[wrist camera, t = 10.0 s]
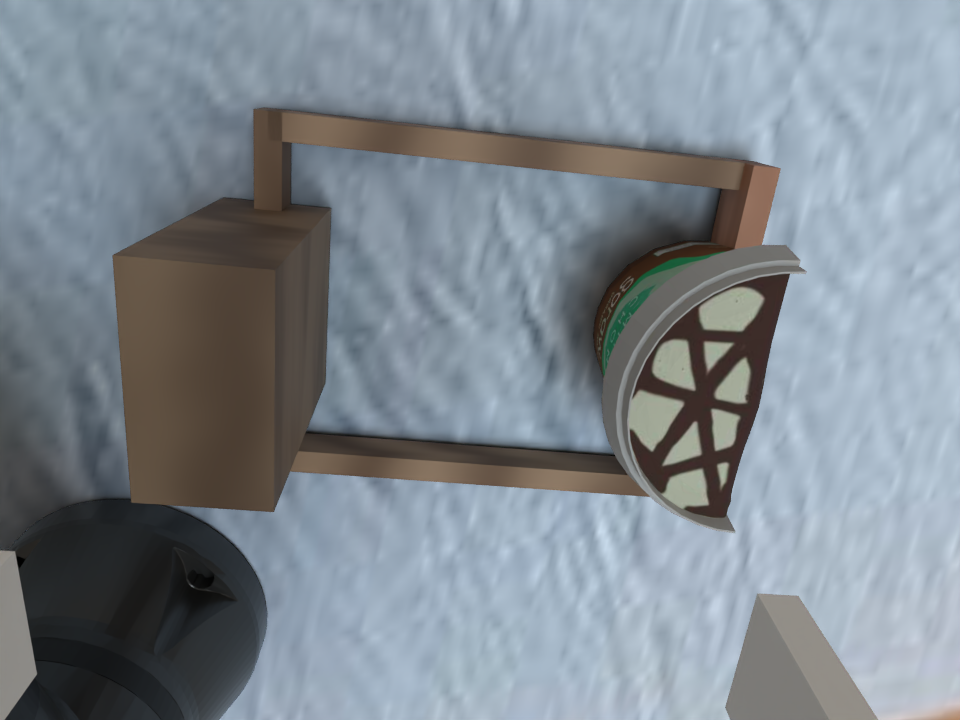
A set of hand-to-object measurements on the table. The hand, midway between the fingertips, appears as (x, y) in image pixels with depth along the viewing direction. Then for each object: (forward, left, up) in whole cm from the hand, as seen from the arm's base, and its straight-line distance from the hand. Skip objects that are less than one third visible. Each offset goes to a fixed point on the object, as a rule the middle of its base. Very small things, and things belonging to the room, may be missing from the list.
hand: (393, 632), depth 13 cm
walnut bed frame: (+3, -1, -24) cm, 24 cm away
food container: (+11, -1, -25) cm, 27 cm away
